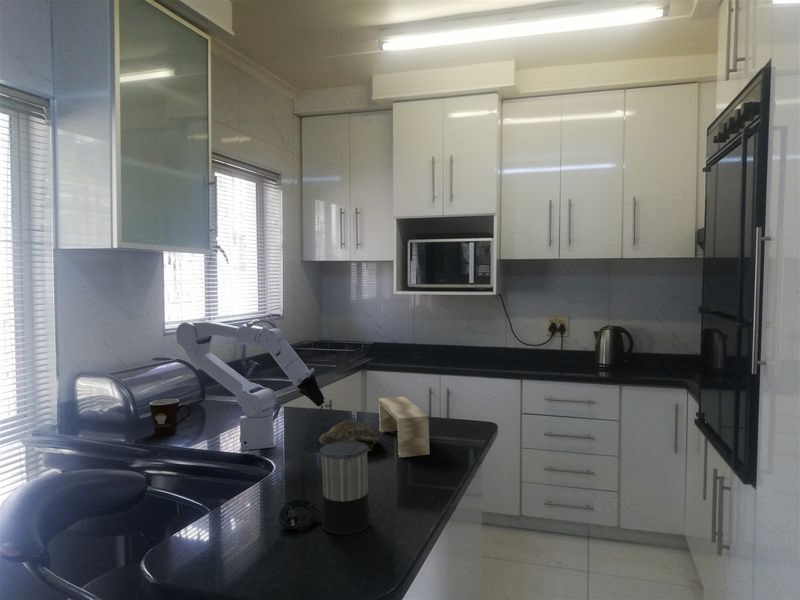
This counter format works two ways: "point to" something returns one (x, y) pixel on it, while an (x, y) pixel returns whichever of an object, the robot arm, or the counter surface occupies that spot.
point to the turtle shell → (350, 434)
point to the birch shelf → (405, 425)
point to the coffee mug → (166, 416)
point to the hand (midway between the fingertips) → (321, 403)
